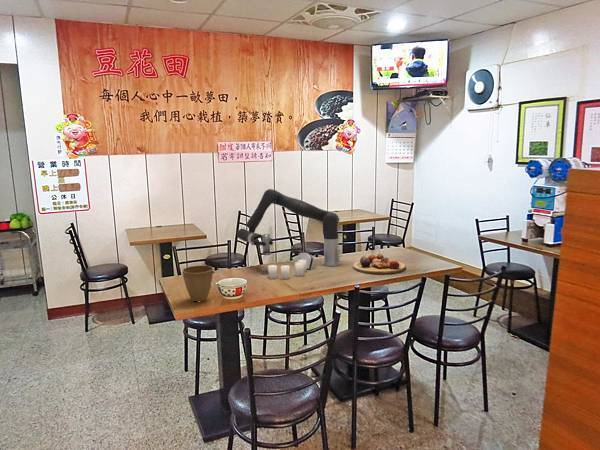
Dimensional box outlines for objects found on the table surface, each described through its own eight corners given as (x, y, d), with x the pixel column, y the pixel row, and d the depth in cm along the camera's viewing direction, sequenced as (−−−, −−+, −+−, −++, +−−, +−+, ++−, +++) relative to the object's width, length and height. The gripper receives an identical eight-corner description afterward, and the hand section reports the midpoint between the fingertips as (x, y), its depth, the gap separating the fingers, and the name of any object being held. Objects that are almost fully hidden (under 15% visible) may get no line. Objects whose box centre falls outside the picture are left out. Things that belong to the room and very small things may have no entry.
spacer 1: (276, 276, 257) (276, 264, 255) (277, 278, 252) (277, 266, 251) (268, 276, 256) (267, 265, 255) (269, 279, 251) (268, 267, 250)
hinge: (293, 264, 282) (297, 250, 282) (299, 266, 284) (304, 251, 284) (305, 270, 267) (309, 254, 267) (311, 272, 269) (316, 256, 269)
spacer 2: (289, 276, 255) (288, 264, 254) (290, 278, 250) (290, 267, 249) (280, 277, 254) (280, 265, 253) (281, 279, 249) (281, 267, 248)
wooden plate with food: (416, 271, 259) (416, 257, 258) (368, 277, 249) (368, 263, 247) (388, 261, 289) (388, 248, 288) (344, 265, 278) (344, 253, 277)
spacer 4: (305, 270, 267) (305, 259, 266) (307, 272, 263) (307, 261, 261) (297, 270, 267) (297, 259, 266) (299, 273, 262) (298, 261, 261)
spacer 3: (303, 273, 260) (302, 262, 259) (304, 275, 255) (304, 264, 254) (294, 274, 259) (294, 262, 258) (296, 276, 254) (295, 264, 253)
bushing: (270, 253, 266) (269, 233, 264) (271, 255, 261) (270, 235, 259) (261, 253, 265) (261, 234, 263) (262, 255, 260) (261, 235, 258)
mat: (273, 270, 270) (273, 269, 270) (274, 273, 262) (274, 273, 262) (260, 271, 268) (260, 270, 268) (261, 274, 261) (261, 274, 260)
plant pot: (183, 306, 208) (181, 273, 206) (185, 296, 223) (183, 266, 220) (214, 303, 211) (213, 271, 209) (215, 294, 226) (213, 264, 223)
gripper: (245, 234, 270) (257, 239, 256) (265, 232, 277) (278, 236, 263) (245, 246, 271) (257, 251, 257) (266, 243, 279) (279, 248, 264)
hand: (268, 243), depth 260 cm, fingers closed on bushing, 4 cm apart
